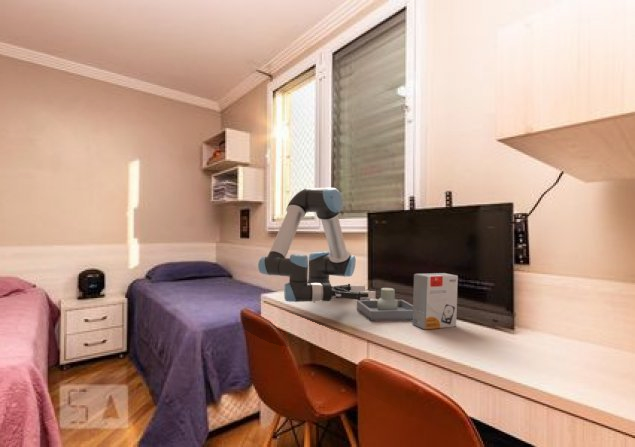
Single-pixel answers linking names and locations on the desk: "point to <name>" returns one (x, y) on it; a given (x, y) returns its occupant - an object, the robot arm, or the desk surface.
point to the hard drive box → (435, 300)
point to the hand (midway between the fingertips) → (369, 291)
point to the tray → (373, 314)
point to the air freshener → (387, 300)
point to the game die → (365, 298)
